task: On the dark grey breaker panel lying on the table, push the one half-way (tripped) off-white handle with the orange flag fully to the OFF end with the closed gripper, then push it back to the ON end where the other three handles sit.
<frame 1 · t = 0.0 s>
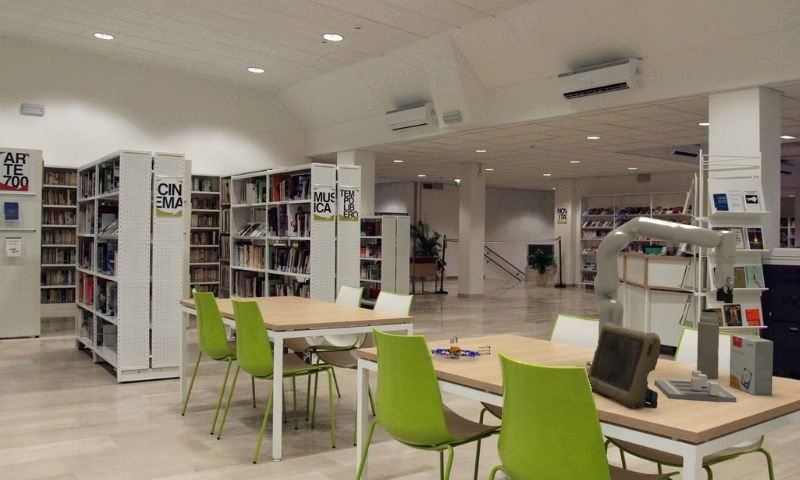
hand: (724, 302, 269), 31 cm above the table, fingers open, 9 cm apart
hard drive box: (750, 390, 246), on the table
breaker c: (702, 380, 243), point 4 cm above the table, slide at 8.0 cm
breaker d: (696, 376, 250), point 4 cm above the table, slide at 8.0 cm
tripped breaker: (696, 383, 237), point 4 cm above the table, slide at 4.0 cm
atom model: (463, 358, 304), on the table
panel: (693, 392, 240), on the table
thermos bottle: (707, 377, 270), on the table
breaker a: (713, 388, 229), point 4 cm above the table, slide at 8.0 cm
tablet: (620, 398, 230), on the table
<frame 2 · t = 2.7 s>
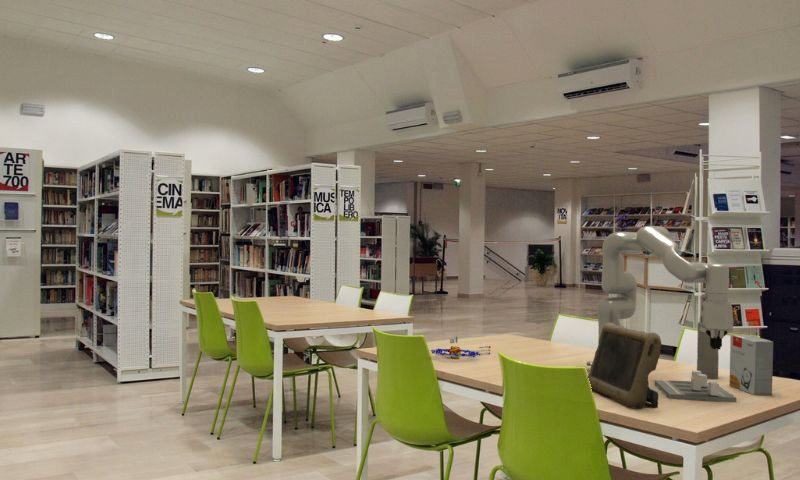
hand: (715, 348, 236), 17 cm above the table, fingers closed
nothing on the table moved.
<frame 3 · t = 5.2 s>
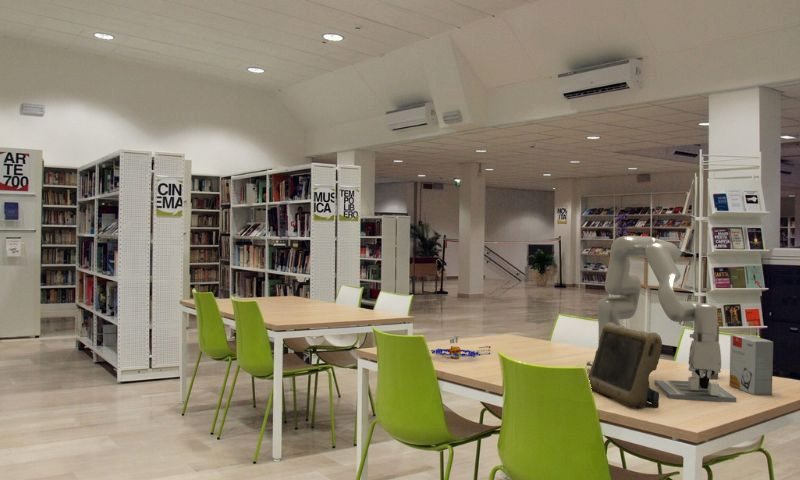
hand: (704, 388, 236), 3 cm above the table, fingers closed
tripped breaker: (693, 383, 237), point 4 cm above the table, slide at 3.1 cm, touching gripper
everything else where it was.
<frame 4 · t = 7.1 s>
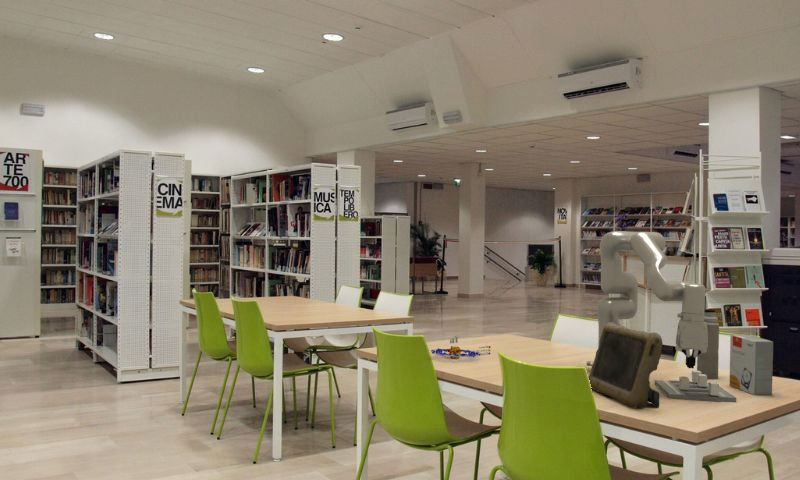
hand: (690, 367, 238), 10 cm above the table, fingers closed
tripped breaker: (684, 382, 238), point 4 cm above the table, slide at -0.1 cm
everything else where it was.
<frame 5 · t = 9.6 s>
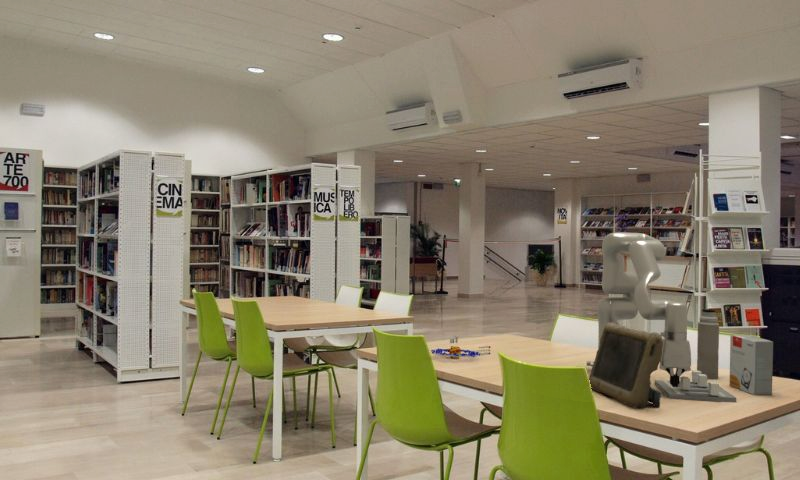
hand: (674, 386, 238), 3 cm above the table, fingers closed
tripped breaker: (685, 382, 237), point 4 cm above the table, slide at 0.3 cm, touching gripper
everything else where it was.
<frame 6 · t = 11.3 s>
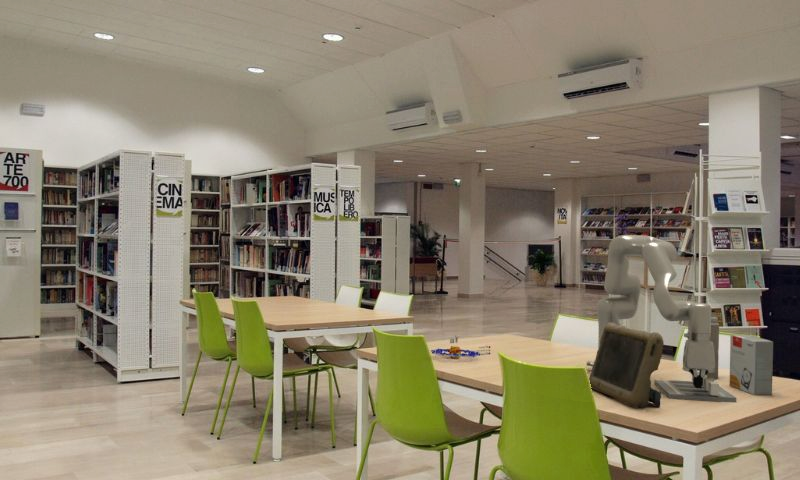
hand: (697, 387, 237), 3 cm above the table, fingers closed
tripped breaker: (708, 384, 236), point 4 cm above the table, slide at 8.3 cm, touching gripper
everything else where it was.
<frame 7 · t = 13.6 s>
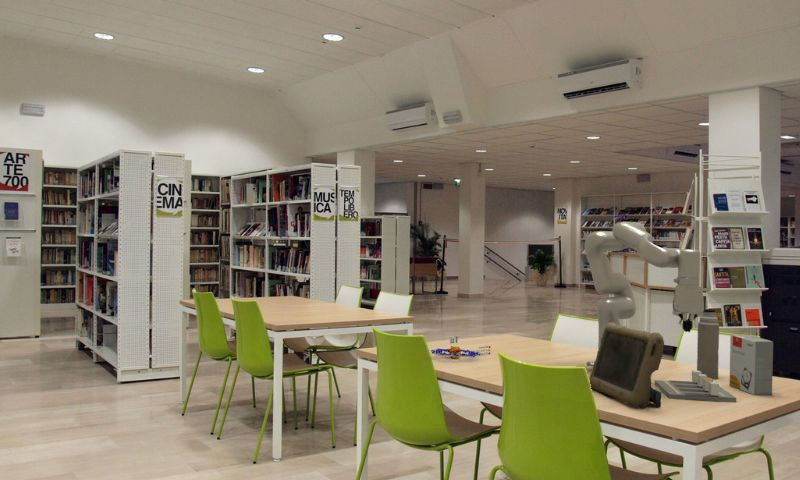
hand: (687, 331, 244), 22 cm above the table, fingers closed
tripped breaker: (707, 384, 236), point 4 cm above the table, slide at 8.1 cm
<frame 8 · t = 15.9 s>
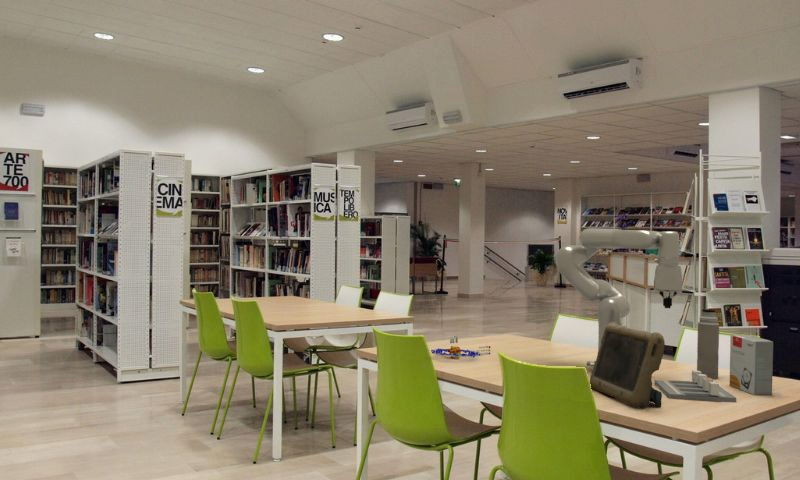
hand: (667, 307, 261), 29 cm above the table, fingers closed
at the end: tripped breaker slide at 8.1 cm; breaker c slide at 8.0 cm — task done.
